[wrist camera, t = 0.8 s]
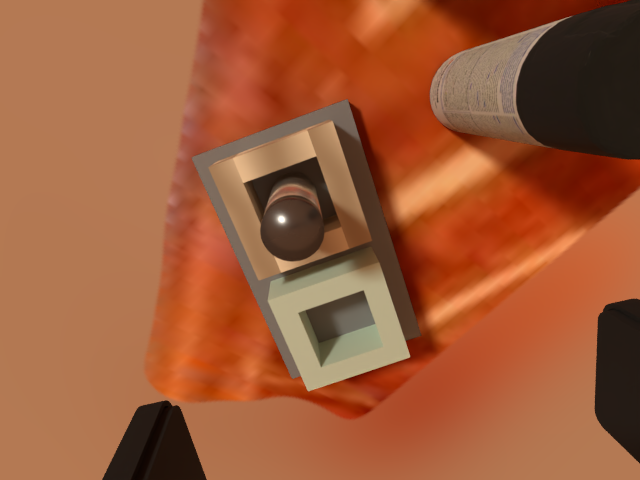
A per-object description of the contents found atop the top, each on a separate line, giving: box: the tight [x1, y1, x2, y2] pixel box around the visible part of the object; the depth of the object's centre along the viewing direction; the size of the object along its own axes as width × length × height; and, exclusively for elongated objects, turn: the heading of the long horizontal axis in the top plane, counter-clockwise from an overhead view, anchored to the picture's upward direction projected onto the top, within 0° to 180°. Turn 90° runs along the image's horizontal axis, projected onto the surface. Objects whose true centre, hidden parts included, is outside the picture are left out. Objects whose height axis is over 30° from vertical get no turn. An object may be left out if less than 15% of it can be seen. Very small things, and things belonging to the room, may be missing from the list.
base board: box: [192, 99, 421, 379], centre depth 38 cm, size 14×24×2 cm, turn 20°
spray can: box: [430, 0, 640, 159], centre depth 25 cm, size 7×7×20 cm
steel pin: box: [260, 172, 325, 262], centre depth 30 cm, size 4×4×11 cm
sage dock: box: [268, 246, 410, 391], centre depth 37 cm, size 10×10×4 cm
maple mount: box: [208, 120, 372, 280], centre depth 33 cm, size 10×10×4 cm
